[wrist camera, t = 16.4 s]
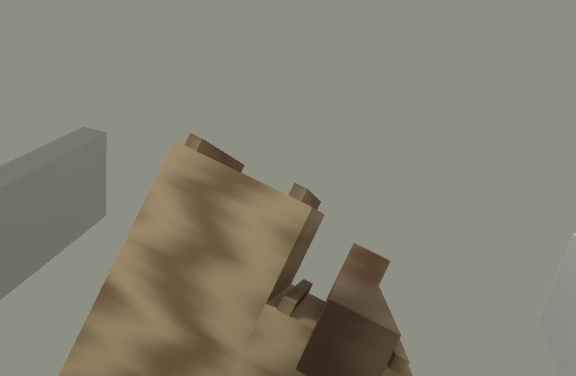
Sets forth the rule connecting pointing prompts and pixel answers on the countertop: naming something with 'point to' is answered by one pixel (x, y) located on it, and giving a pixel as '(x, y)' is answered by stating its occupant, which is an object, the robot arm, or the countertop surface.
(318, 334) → the frame bar
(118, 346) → the notch post
